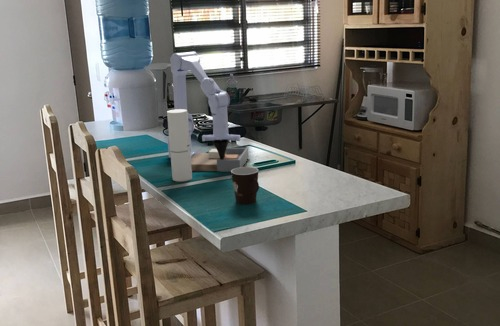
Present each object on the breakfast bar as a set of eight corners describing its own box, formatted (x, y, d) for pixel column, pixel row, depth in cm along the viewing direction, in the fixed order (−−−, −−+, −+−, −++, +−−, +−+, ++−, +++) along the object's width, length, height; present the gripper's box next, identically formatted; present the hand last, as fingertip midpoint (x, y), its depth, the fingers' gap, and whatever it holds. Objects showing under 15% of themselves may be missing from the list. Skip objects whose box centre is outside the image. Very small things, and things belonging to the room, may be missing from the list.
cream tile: (209, 158, 212) (208, 152, 212) (211, 154, 217) (211, 148, 216) (221, 158, 211) (220, 152, 211) (224, 154, 216) (223, 148, 215)
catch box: (217, 171, 203) (216, 160, 202) (227, 158, 220) (226, 147, 219) (240, 171, 201) (239, 160, 200) (248, 158, 219) (248, 147, 218)
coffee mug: (231, 197, 174) (230, 167, 171) (258, 195, 174) (257, 166, 172) (233, 209, 162) (232, 178, 160) (262, 207, 163) (260, 176, 160)
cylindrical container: (195, 176, 198) (191, 109, 191) (185, 182, 191) (180, 113, 185) (179, 174, 200) (174, 108, 194) (168, 180, 194) (162, 112, 188)
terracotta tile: (224, 164, 205) (223, 158, 204) (226, 160, 209) (225, 154, 209) (236, 164, 204) (236, 157, 203) (238, 160, 209) (238, 154, 208)
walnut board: (184, 170, 206) (184, 164, 205) (196, 158, 222) (195, 152, 221) (217, 170, 203) (217, 164, 203) (227, 158, 220) (226, 153, 219)
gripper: (199, 126, 200) (201, 161, 204) (237, 126, 198) (238, 161, 202) (203, 122, 207) (206, 156, 211) (240, 122, 205) (242, 156, 208)
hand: (222, 158), depth 207 cm, fingers closed
